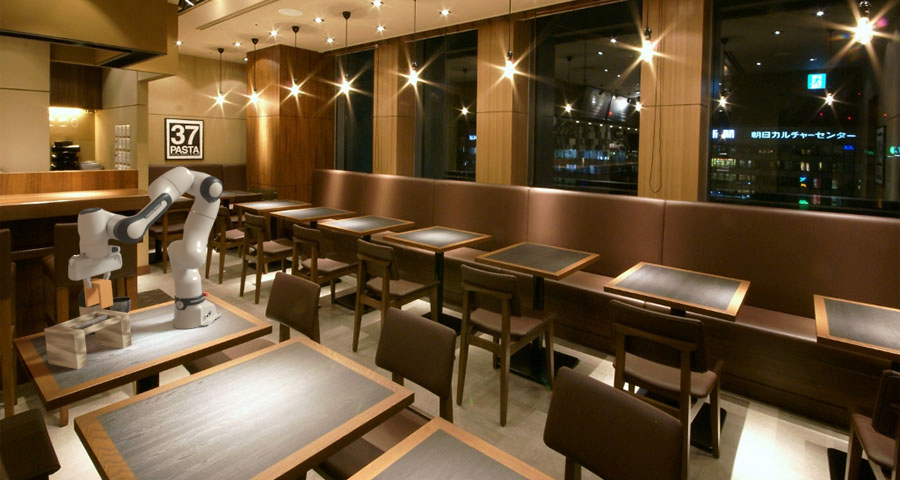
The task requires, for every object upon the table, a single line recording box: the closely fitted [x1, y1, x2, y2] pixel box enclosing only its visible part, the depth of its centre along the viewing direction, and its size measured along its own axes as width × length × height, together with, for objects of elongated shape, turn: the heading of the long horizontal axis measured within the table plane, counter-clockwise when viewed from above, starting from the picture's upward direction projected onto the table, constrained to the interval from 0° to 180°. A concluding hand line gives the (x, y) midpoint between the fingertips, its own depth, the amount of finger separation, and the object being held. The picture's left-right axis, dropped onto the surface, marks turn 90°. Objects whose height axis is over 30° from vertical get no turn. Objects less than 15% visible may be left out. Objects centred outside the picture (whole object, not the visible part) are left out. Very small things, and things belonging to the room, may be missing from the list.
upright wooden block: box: [83, 277, 114, 309], centre depth 196 cm, size 5×8×10 cm, turn 77°
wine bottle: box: [77, 276, 100, 336], centre depth 222 cm, size 8×8×30 cm
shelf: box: [44, 308, 133, 370], centre depth 202 cm, size 24×14×14 cm, turn 166°
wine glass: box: [109, 296, 133, 332], centre depth 224 cm, size 8×8×15 cm
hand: (97, 285), depth 196 cm, fingers closed on upright wooden block, 5 cm apart
